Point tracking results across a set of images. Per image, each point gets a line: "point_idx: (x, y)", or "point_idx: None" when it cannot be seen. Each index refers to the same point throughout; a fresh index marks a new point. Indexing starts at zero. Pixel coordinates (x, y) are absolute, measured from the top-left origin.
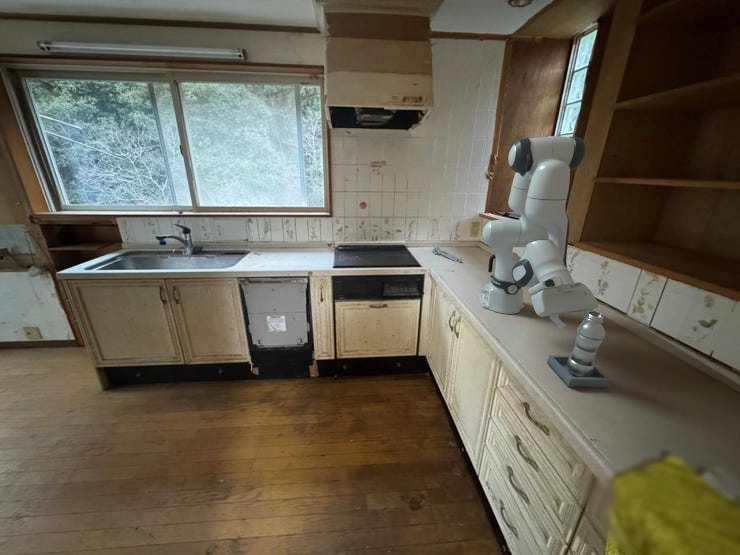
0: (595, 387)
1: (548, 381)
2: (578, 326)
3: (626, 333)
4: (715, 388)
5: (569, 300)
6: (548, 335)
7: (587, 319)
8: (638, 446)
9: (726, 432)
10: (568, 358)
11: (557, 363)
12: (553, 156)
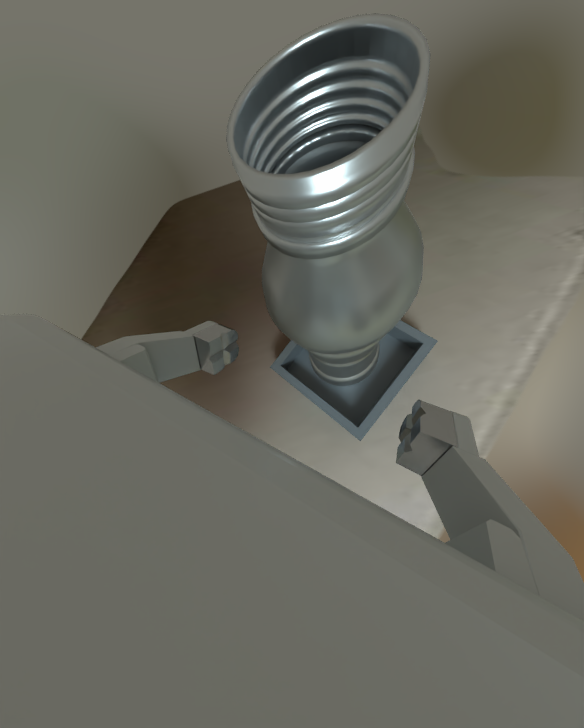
0: None
1: (452, 395)
2: (364, 335)
3: None
4: (182, 215)
5: (57, 625)
6: None
7: (391, 215)
8: (492, 192)
9: None
10: (315, 393)
11: (386, 401)
12: None
